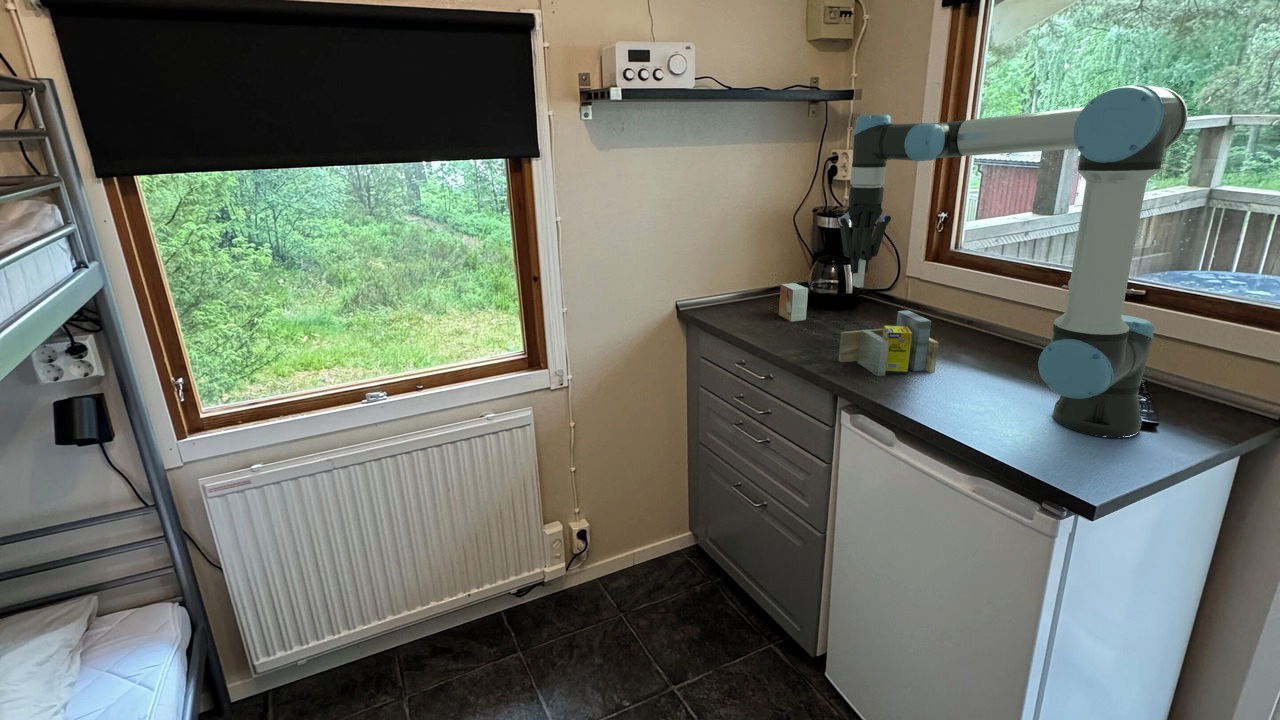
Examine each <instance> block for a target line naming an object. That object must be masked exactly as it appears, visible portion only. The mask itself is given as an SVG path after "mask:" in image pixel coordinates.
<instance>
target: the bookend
mask: <svg viewBox="0 0 1280 720" xmlns="http://www.w3.org/2000/svg"><path fill="white" fill-rule="evenodd" d="M870 330H871V329H861V334H860V344H859V354H858V361H857V364H858V365H860V366H862V367H863V368H865V370H868V371H869V372H871V373H872V374H873V375H875V376H877V377H884V376H886V373H885V371H886V362H887V354H888V345H889V341H887V340H886V339H884V338H882V337H880V336H879V335H877V334H875V333H873V332H872V331H870Z"/></svg>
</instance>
